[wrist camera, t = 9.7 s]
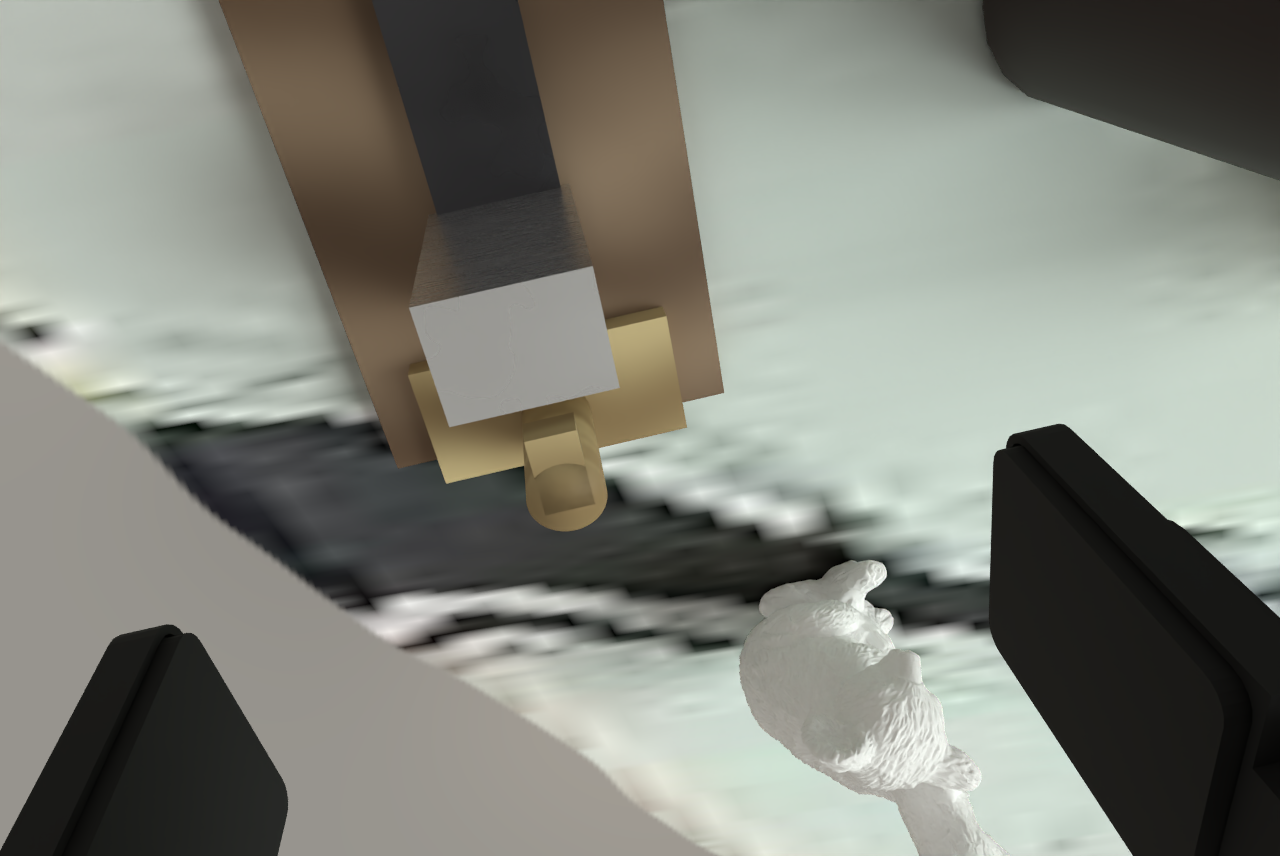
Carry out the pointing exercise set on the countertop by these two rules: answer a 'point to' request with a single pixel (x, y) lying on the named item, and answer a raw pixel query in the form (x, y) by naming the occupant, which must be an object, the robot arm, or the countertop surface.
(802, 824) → the countertop surface
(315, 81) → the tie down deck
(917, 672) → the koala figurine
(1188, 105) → the vinegar
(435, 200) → the grey block
